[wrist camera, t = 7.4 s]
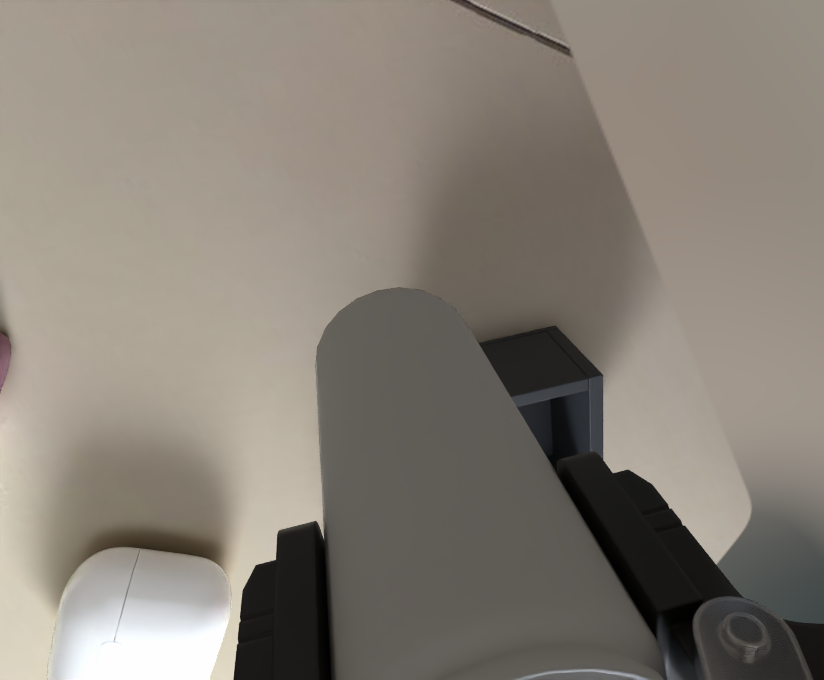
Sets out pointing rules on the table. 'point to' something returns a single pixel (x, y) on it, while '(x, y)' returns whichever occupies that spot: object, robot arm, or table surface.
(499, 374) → the bin
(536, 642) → the beverage can
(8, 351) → the video game controller
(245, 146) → the table surface
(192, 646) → the earbud case
